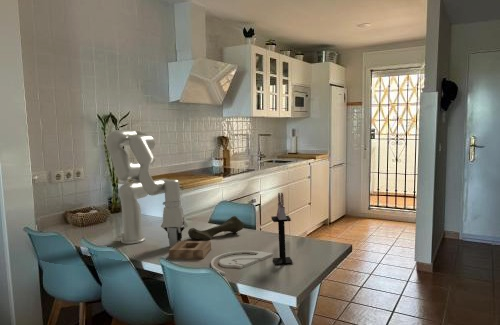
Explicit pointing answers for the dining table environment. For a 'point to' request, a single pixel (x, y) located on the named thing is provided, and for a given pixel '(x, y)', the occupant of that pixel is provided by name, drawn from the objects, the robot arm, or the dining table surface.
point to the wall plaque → (239, 259)
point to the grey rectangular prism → (173, 236)
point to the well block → (190, 250)
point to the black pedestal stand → (281, 233)
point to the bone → (217, 229)
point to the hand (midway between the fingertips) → (175, 239)
